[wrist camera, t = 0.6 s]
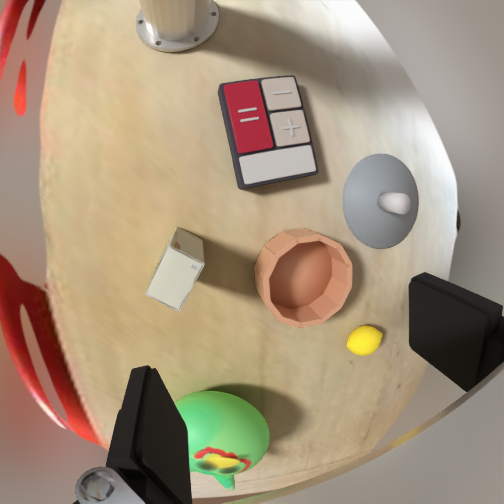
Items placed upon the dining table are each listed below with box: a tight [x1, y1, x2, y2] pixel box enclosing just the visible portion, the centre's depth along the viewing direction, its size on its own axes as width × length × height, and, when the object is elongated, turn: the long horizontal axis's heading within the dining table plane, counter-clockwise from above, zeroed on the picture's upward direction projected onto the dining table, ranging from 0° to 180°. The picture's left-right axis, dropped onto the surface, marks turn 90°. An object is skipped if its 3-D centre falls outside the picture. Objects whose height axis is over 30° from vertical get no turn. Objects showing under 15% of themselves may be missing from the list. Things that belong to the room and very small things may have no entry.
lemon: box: [347, 326, 383, 356], centre depth 48 cm, size 7×5×5 cm
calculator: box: [218, 75, 318, 189], centre depth 39 cm, size 11×4×15 cm
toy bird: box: [175, 391, 270, 490], centre depth 42 cm, size 18×17×15 cm
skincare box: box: [146, 227, 205, 311], centre depth 36 cm, size 6×4×12 cm
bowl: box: [254, 228, 352, 328], centre depth 43 cm, size 13×13×6 cm
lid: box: [343, 154, 418, 249], centre depth 44 cm, size 16×16×6 cm
